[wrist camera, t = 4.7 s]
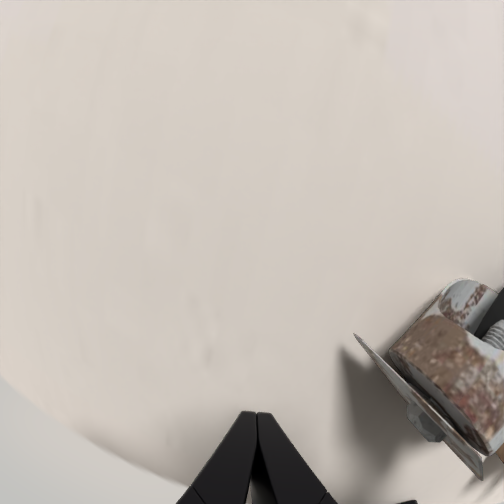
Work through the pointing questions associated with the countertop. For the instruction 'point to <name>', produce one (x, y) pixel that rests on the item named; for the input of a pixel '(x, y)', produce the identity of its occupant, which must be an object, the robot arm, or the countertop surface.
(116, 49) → the countertop surface
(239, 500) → the robot arm
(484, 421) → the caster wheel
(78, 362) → the countertop surface
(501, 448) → the cradle
